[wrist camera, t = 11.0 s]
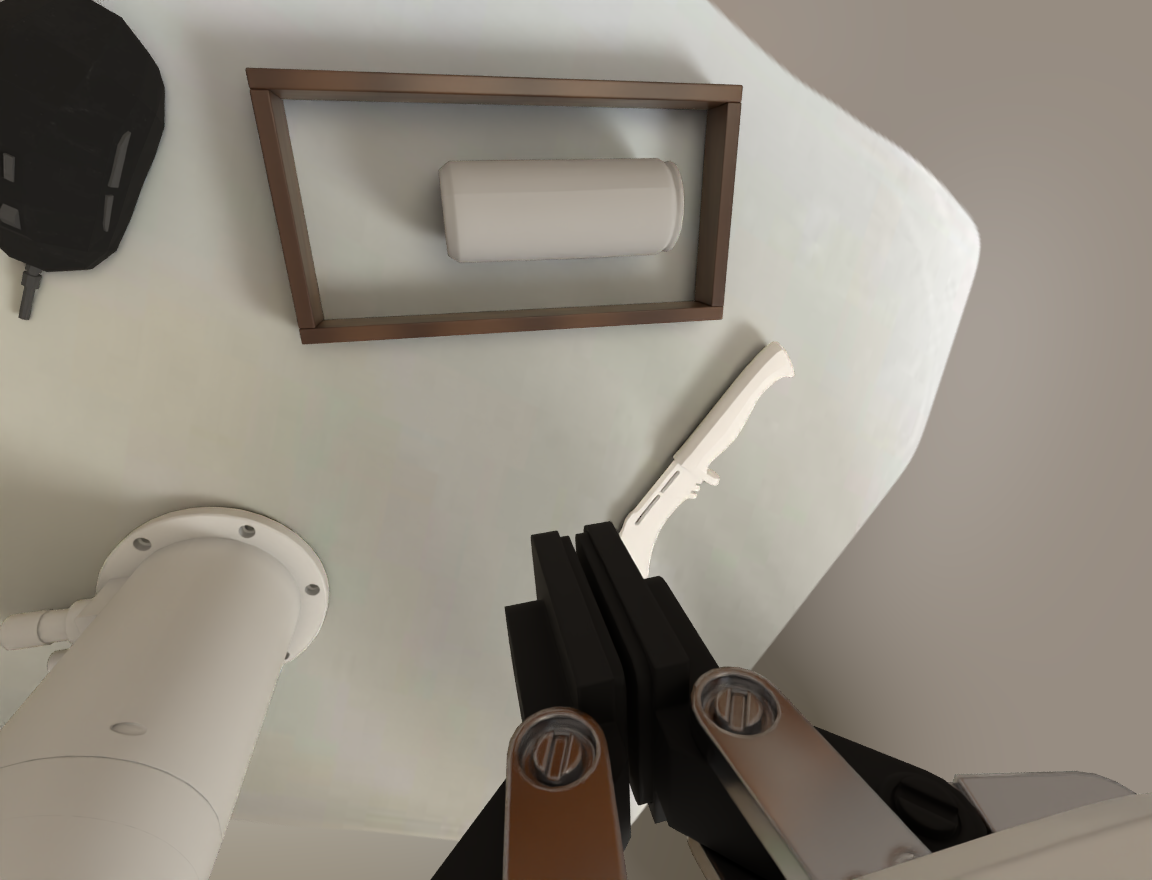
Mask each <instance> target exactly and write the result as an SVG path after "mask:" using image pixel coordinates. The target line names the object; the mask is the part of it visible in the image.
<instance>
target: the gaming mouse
mask: <svg viewBox="0 0 1152 880" xmlns="http://www.w3.org/2000/svg"><path fill="white" fill-rule="evenodd" d="M164 98H165V87H164V84H163V81H162V78H161V74H160V71H159V68H158V66H157V65H156V63H155V62H154V60H153V59H152V57H151V56H150V54H149V53H148V51H147V50H146V49H145V47H144V46H143V45H142V43H141V42H140V41H139V40H138V38H137V37H136V36H135V34H134V33H133V32H132V30H131V29H130V28H129V27H128V25H127V24H126V23H125V21H124V20H123V19H122V17H120V16H118V15H116V14H115V13H113V12H111V11H109V10H108V9H106V8H104V7H103V6H101V5H99V4H97V3H96V2H94V1H92V0H4V1H2V2H0V248H1V249H2V250H3V251H4V252H5V253H6V254H7V255H8V256H9V257H11V258H14V259H16V260H19V261H21V262H23V263H26V266H25V269H26V270H27V271H24V272H23V277H22V282H21V285H23V286H24V291H23V296H22V301H21V306H20V312H19V318H20V319H24V320H29V317H30V312H31V307H32V302H33V297H34V292H35V289H38V288H39V285H40V280H41V275H40V274H39V273H41V271H42V270H43V271H46V272H55V271H73V270H88V269H93V268H94V267H95V266H97V265H98V264H99V263H101V262H102V261H103V260H104V259H106V258H107V257H108V256H110V255H111V254H112V253H114V252H115V251H116V250H117V248H118V246H119V244H120V241H121V239H122V237H123V235H124V232H125V230H126V228H127V226H128V223H129V221H130V219H131V216H132V213H133V211H134V208H135V205H136V202H137V199H138V197H139V194H140V191H141V188H142V185H143V183H144V180H145V178H146V176H147V173H148V171H149V169H150V166H151V164H152V162H153V159H154V157H155V154H156V151H157V148H158V145H159V142H160V139H161V136H162V133H163V130H164Z"/></svg>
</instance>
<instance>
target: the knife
mask: <svg viewBox="0 0 1152 880" xmlns="http://www.w3.org/2000/svg"><path fill="white" fill-rule="evenodd" d="M793 376H795V373H794V369H793V366H792V363H791V360H790V358H789V356H788V354H787V352H786V350H785V349H784V348H783V347H782V346H781V345H780V344H779V343H778V342H771V343H770V344H768V345H767V346H766V347H765V348H764V349H763V350H762V351H761V352H759V353H758V354H757V356H756V357H755V358H754V359H753V360H752V361H751V362H750V363H749V364H748V365H747V366H746V368H745V369H744V370H743V371H742V372H741V374H740V375H739V376H738V377H737V379H736V380H735V381H734V382H733V383H732V385H731V386H730V387H729V388H728V390H727V391H726V392H725V393H724V395H723V396H722V397H721V398H720V400H719V401H718V402H717V403H716V405H715V406H714V407H713V408H712V410H711V411H710V412H709V413H708V415H707V416H706V417H705V418H704V420H703V421H702V422H701V423H700V424H699V426H698V427H697V428H696V429H695V431H694V432H693V433H692V434H691V436H690V437H689V438H688V439H687V441H686V442H685V443H684V444H683V446H682V447H681V448H680V449H679V450H678V451H677V452H676V453H675V455H674V456H673V458H674V459H675V460H674V461H673V462H672V463H671V464H670V466H669V467H668V468H667V469H666V471H665V472H664V473H663V474H662V476H661V477H660V478H659V479H658V481H657V482H656V483H655V484H654V486H653V487H652V488H651V489H650V490H649V492H648V493H647V494H646V495H645V497H644V498H643V499H642V500H641V502H640V503H639V504H638V505H637V507H636V508H635V509H634V510H633V511H631V512H630V513H629V515H628V516H627V517H626V518H625V521H624V524H623V527H622V529H621V531H620V533H619V536H620V538H621V540H622V541H623V543H624V545H625V547H626V548H627V550H628V552H629V554H630V555H631V557H632V559H633V561H634V562H635V564H636V566H637V568H638V569H639V571H640V573H641V575H642V576H643V578H644V579H646V578H648V573H649V564H650V559H651V554H652V550H653V546H654V544H655V541H656V539H657V536H658V534H659V532H660V530H661V528H662V527H663V525H664V523H665V522H666V520H667V519H668V517H669V516H670V515H671V514H672V512H673V511H674V510H675V509H676V508H677V507H678V506H679V505H680V504H681V503H682V502H683V501H684V500H686V499H687V498H694V499H696V497H697V494H696V493H695V492H691V491H693V490H695V491H699V489H700V486H699V485H697V483H701V484H702V482H703V480H704V481H706V482H707V483H709V484H711V485H718V482H719V479H720V477H719V475H718V474H717V473H716V472H714V471H713V470H711V469H707V468H708V466H709V464H710V463H711V462H712V461H713V460H714V459H715V458H716V457H717V456H718V455H720V454H721V453H722V452H723V451H724V450H725V449H726V448H727V447H728V446H729V445H730V444H731V443H732V442H733V441H734V440H735V439H736V437H737V436H738V434H739V433H740V431H741V430H742V428H743V427H744V425H745V423H746V421H747V419H748V417H749V415H750V413H751V412H752V410H753V408H754V406H755V404H756V402H757V400H758V399H759V397H760V396H761V395H762V393H763V392H764V391H765V390H766V389H767V388H768V387H770V386H771V385H772V384H773V383H774V382H776V381H777V380H778V379H780V378H781V377H788V378H790V377H793ZM676 471H677V472H676ZM675 472H676V474H675V475H674V473H675ZM673 475H674V476H673ZM672 476H673V477H672ZM671 477H672V479H671V480H670V478H671ZM669 480H670V481H669ZM668 481H669V482H668ZM667 482H668V484H667V485H666V483H667ZM665 485H666V486H665ZM664 486H665V487H664ZM663 487H664V489H663V490H662V488H663ZM661 490H662V491H661ZM657 495H658V496H657ZM656 496H657V497H656ZM655 497H656V499H655V500H654V501H653V499H654V498H655ZM652 501H653V502H652ZM651 502H652V504H651V505H650V506H649V504H650V503H651ZM648 506H649V507H648ZM647 507H648V509H647V510H646V511H645V509H646V508H647ZM644 511H645V512H644ZM643 512H644V514H643V515H642V516H641V514H642V513H643ZM640 516H641V518H640V519H639V521H638V522H637V523H636V521H637V520H638V518H639V517H640Z"/></svg>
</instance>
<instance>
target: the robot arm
mask: <svg viewBox="0 0 1152 880" xmlns="http://www.w3.org/2000/svg"><path fill="white" fill-rule="evenodd" d="M248 525H249V526H248ZM250 526H251V527H250ZM575 542H576V552H575V549H574V547H573V545H572V542H571V540H570V537H569V536H563V537H560V535H559V533H558V531H551V532H546V533H540V534H534V535H531V546H532V556H533V565H534V575H535V584H536V594H537V600H536V601H531V602H526V603H521V604H516V605H511V606H506V607H505V614H506V622H507V629H508V637H509V644H510V651H511V657H512V664H513V670H514V676H515V683H516V688H517V694H518V700H519V706H520V712H521V718H522V723H521V724H520V725H519V726H518V727H517V729H516V730H515V732H514V734H513V736H512V737H511V739H510V742H509V747H508V752H507V769H506V779H505V781H504V782H503V783H502V785H501V786H500V787H499V789H498V790H497V791H496V793H495V794H494V795H493V797H492V798H491V799H490V801H489V802H488V803H487V805H486V806H485V807H484V809H483V810H482V811H481V813H480V814H479V815H478V817H477V818H476V819H475V821H474V822H473V823H472V825H471V826H470V827H469V829H468V830H467V831H466V833H465V834H464V835H463V837H462V838H461V840H460V841H459V842H458V844H457V845H456V846H455V848H454V849H453V850H452V852H451V853H450V854H449V856H448V857H447V858H446V860H445V861H444V862H443V864H442V865H441V866H440V868H439V869H438V871H437V872H436V873H435V875H434V876H433V877H432V879H431V880H628V879H627V872H626V865H625V859H624V850H625V848H626V846H627V844H628V842H629V840H630V838H631V824H630V788H629V783H630V786H631V789H632V792H633V795H634V797H635V800H636V802H637V804H638V805H642V804H646V803H648V805H649V808H650V811H651V814H652V817H653V819H654V822H655V823H660V822H663V821H667V822H668V825H669V826H670V827H672V828H673V829H675V830H677V831H679V832H681V833H682V834H684V835H686V836H687V842H688V844H689V847H690V849H691V852H692V855H693V856H694V858H695V860H696V862H697V864H698V865H699V867H700V869H701V871H702V873H703V874H704V876H705V878H706V879H707V880H1152V793H1145V794H1136V793H1134V792H1133V791H1131V790H1129V789H1128V788H1126V787H1124V786H1123V785H1121V784H1119V783H1118V782H1116V781H1113V780H1110V779H1108V778H1105V777H1103V776H1100V775H1097V774H1093V773H1086V772H1078V771H1066V772H1029V773H992V774H957V775H955V777H954V780H953V782H946V781H945V780H944V779H942V778H940V777H938V776H936V775H934V774H932V773H930V772H928V771H926V770H923V769H921V768H918V767H916V766H914V765H911V764H909V763H906V762H904V761H901V760H898V759H896V758H893V757H891V756H888V755H886V754H883V753H881V752H878V751H876V750H873V749H871V748H868V747H866V746H863V745H861V744H858V743H856V742H853V741H851V740H848V739H845V738H843V737H840V736H838V735H835V734H833V733H830V732H828V731H825V730H823V729H820V728H818V727H815V726H813V725H812V724H811V723H810V722H809V721H808V720H807V719H806V718H805V717H804V716H803V715H802V713H801V712H800V711H799V710H798V709H797V708H796V707H795V706H794V705H793V704H792V703H791V702H790V701H789V700H788V699H787V698H786V696H785V695H784V694H783V693H782V692H781V691H780V690H779V689H778V688H777V687H776V686H775V685H774V684H772V683H771V682H770V681H769V680H768V679H766V678H765V677H763V676H762V675H759V674H758V673H755V672H754V671H751V670H747V669H744V668H740V667H720V668H719V666H718V665H717V663H716V662H715V660H714V658H713V657H712V655H711V654H710V652H709V650H708V649H707V647H706V646H705V644H704V642H703V641H702V639H701V638H700V636H699V634H698V633H697V631H696V630H695V628H694V626H693V625H692V623H691V622H690V620H689V618H688V617H687V615H686V614H685V612H684V610H683V609H682V607H681V606H680V604H679V602H678V601H677V599H676V597H675V596H674V594H673V593H672V591H671V589H670V588H669V586H668V585H667V583H666V582H665V580H664V579H663V578H662V577H660V576H656V577H651V578H646V579H644V578H643V576H642V575H641V573H640V571H639V569H638V568H637V566H636V564H635V562H634V561H633V559H632V557H631V555H630V554H629V552H628V550H627V548H626V547H625V545H624V543H623V541H622V540H621V538H620V536H619V534H618V533H617V531H616V529H615V527H614V525H613V524H612V522H610V521H608V522H602V523H597V524H591V525H585V526H584V533H580V534H576V536H575ZM95 592H96V596H95V597H94V598H91V599H84V600H78V601H76V602H75V603H74V604H72V605H71V607H70V608H67V609H60V610H53V609H49V610H41V611H34V612H27V613H20V614H14V615H10V616H8V617H7V618H6V619H5V620H4V621H3V623H2V625H1V627H0V643H1V646H2V647H4V648H5V649H6V650H17V649H24V648H31V647H37V646H44V645H51V644H52V643H54V642H60V641H67V640H69V641H70V642H71V643H72V644H73V645H72V646H71V647H70V648H69V649H63V650H57V651H54V652H53V653H52V654H51V655H50V657H49V659H48V663H47V669H48V672H49V673H48V675H47V676H46V677H45V678H44V679H43V680H42V682H41V683H40V684H39V685H38V686H37V688H36V689H35V690H34V691H33V692H32V694H31V695H30V696H29V697H28V698H27V699H26V701H25V702H24V703H23V704H22V705H21V707H20V708H19V709H18V710H17V711H16V713H15V714H14V715H13V716H12V717H11V719H10V720H9V721H8V722H7V723H6V724H5V726H4V727H3V728H2V729H1V730H0V880H209V878H210V875H211V872H212V869H213V866H214V863H215V860H216V857H217V855H218V853H219V850H220V847H221V844H222V841H223V838H224V835H225V832H226V829H227V827H228V823H229V821H230V818H231V815H232V812H233V809H234V806H235V803H236V800H237V797H238V794H239V791H240V789H241V786H242V783H243V780H244V777H245V774H246V771H247V768H248V765H249V762H250V759H251V756H252V753H253V750H254V747H255V745H256V742H257V739H258V736H259V733H260V730H261V727H262V724H263V721H264V718H265V715H266V712H267V709H268V706H269V703H270V701H271V698H272V695H273V692H274V689H275V686H276V683H277V680H278V677H279V674H280V671H281V668H282V666H283V665H285V664H286V663H288V662H290V661H291V660H293V659H295V658H296V657H297V656H298V655H299V654H300V653H302V652H303V651H304V650H305V649H306V648H307V647H308V646H309V645H310V644H311V642H312V641H313V640H314V639H315V637H316V636H317V635H318V633H319V631H320V629H321V626H322V624H323V622H324V620H325V616H326V612H327V609H328V604H329V592H330V590H329V584H328V578H327V574H326V572H325V569H324V567H323V565H322V562H321V560H320V559H319V558H318V556H317V555H316V553H315V552H314V551H313V549H312V548H311V547H310V546H309V545H308V544H307V543H306V542H305V541H304V540H303V539H302V538H301V537H300V536H299V535H298V534H296V533H295V532H293V531H292V530H290V529H288V528H287V527H285V526H284V525H282V524H281V523H279V522H276V521H274V520H272V519H269V518H267V517H265V516H263V515H260V514H256V513H252V512H248V511H245V510H241V509H233V508H224V507H194V508H189V509H184V510H178V511H173V512H170V513H167V514H164V515H162V516H159V517H156V518H154V519H151V520H149V521H148V522H146V523H144V524H143V525H141V526H139V527H138V528H136V529H134V530H133V531H132V532H131V533H130V534H129V535H128V536H126V537H125V538H124V539H123V540H122V541H121V542H120V543H119V544H118V545H117V546H116V548H115V549H114V550H113V551H112V552H111V553H110V555H109V556H108V557H107V558H106V560H105V562H104V564H103V566H102V568H101V570H100V572H99V575H98V580H97V585H96V590H95Z"/></svg>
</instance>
